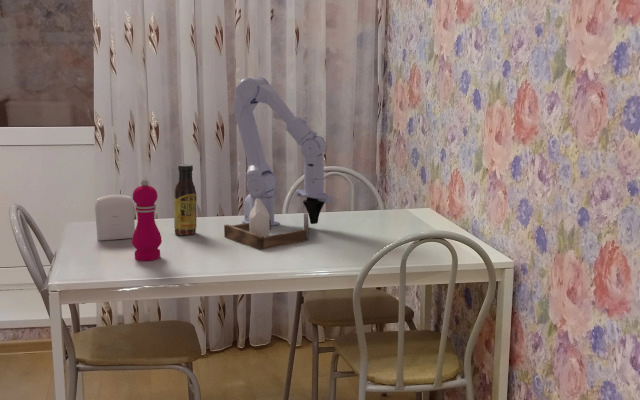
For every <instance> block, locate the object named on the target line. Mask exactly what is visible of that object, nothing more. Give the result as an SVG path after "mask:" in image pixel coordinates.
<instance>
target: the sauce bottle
mask: <svg viewBox="0 0 640 400" xmlns="http://www.w3.org/2000/svg"><path fill="white" fill-rule="evenodd" d="M177 169H178V182H177V184H176V185H175V188H174V203H173V204H174V205H173V206H174V208H173V209H174V215H173V217H174V218H173V219H174V220H173V221H174V224H173V225H174V227H173V228H174V234H175V235H178V236H191V235H194V234H196V232H197V201H198V200H197V190H196V186H195V185H194V182H193V170H194V166H193V164H184V163H183V164H178V167H177Z"/></svg>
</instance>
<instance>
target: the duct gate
mask: <svg viewBox="0 0 640 400" xmlns="http://www.w3.org/2000/svg"><path fill="white" fill-rule="evenodd" d="M305 225H308V237H309V227H310V226H309V225H310V223H309V214H308V212H304V213H303V230H305Z"/></svg>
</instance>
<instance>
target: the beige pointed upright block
mask: <svg viewBox="0 0 640 400" xmlns="http://www.w3.org/2000/svg"><path fill="white" fill-rule="evenodd" d="M269 226H270V224H269V213H268V210H267V209H266V207H265V206H264V205H263V203H262V201H261V200H260V199H258V198H256V200H255V203H254V207H253V208H252V210H251V212H250V215H249V229H250V232H252V233H255V234H258V235H261V236H264V237H266V236H271V235H270V234H271V233H270V232H271V230H270V227H269Z"/></svg>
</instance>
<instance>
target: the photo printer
mask: <svg viewBox="0 0 640 400" xmlns="http://www.w3.org/2000/svg"><path fill="white" fill-rule="evenodd" d="M134 207H135V205H134V200H133V198H132V196H130V195H124V194H109V195H104V196H101V197H99V198H96V202H95V208H94V212H95V226H96V238H97V241H100V242H101V241H113V240H122V239H123V240H125V239H132V237H133V234H134V231H135V229H136V228H135V227H136V226H135V209H134Z"/></svg>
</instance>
